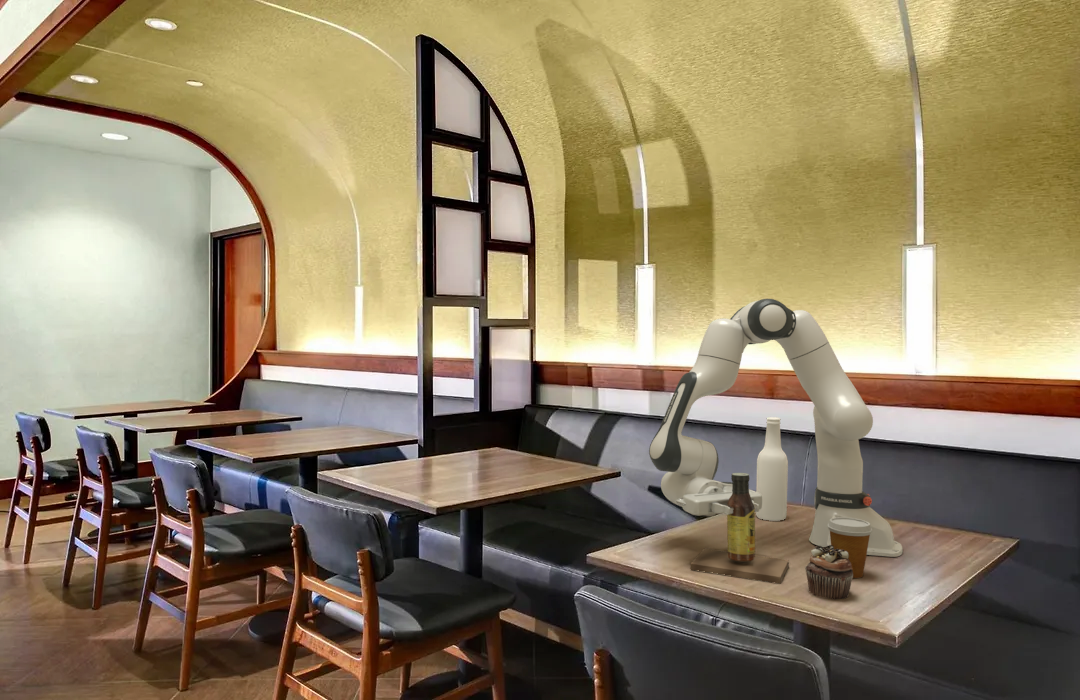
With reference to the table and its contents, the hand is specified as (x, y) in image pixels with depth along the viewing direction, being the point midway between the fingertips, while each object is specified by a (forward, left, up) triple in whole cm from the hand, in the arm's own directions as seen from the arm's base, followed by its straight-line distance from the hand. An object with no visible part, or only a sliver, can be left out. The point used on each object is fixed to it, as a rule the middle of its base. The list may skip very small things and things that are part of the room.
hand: (744, 509), depth 176 cm
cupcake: (-19, +7, -14) cm, 25 cm away
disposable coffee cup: (-22, -9, -14) cm, 28 cm away
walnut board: (+1, -1, -14) cm, 14 cm away
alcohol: (+2, -55, -14) cm, 56 cm away
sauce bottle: (0, -1, -12) cm, 12 cm away
